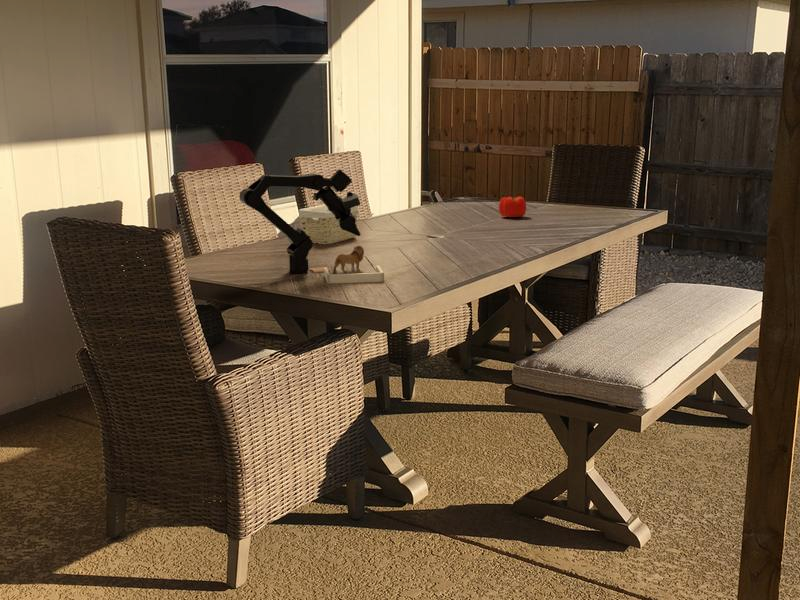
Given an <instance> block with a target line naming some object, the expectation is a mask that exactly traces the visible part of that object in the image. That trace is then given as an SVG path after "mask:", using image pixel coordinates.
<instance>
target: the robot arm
mask: <svg viewBox="0 0 800 600" xmlns="http://www.w3.org/2000/svg"><path fill="white" fill-rule="evenodd" d="M352 183H353V181H352V179H351V177H350V176H349V175H347V174H346V173H345V172H344V171H343V170H342V169H339V168H338V169H337V170H336V171H335V172H334V174H333V175H331V176H330V178H327V177H324V176H323V175H322V174H318V173H314V172H311V173H305V174H302V175H275V174H273V175H271V174H269V175H268V174H262V175H261V176H260V177H259V178H258V179H257V180H255V181H254V182H253V183H251V184H250V185H249V186H248V187H247V188H243V189H242V190H241V191H240V193H239V196H238V197H239V200H240V202H241V203H242V204H244V205H246V206H247V207H249V208H250V209H253V210H255V211H256V212H258V213H259V214H260V215H261V216H262V217H263V218H264V219H266V220H267V221H268V222H269V223H271V224H272V225H273V226H274V227H275V229H277V230H278V231H279V232H281V233H282V234H283V235H285V237H286V238H287V240H288V241H289V243H290V244H289V246H288V247H287V248H286V252H287V255H288V263H289V264H288V265H289V266H288V267H289V269H288V272H289V274H290V275H292V274H307V273H308V271H309V258H308V255H309V253H310V251H311V249H312V248H313V243H312V240H311V239H310V236H308V235H307V234H306V233H305V232H304V231H303V230H302V228H299V227H297V228H296V229H295V228H294V227H292V225H290V224H289V223H288V222H287V221H286V220H284V219H283V218H282V217H281V216H280V215H279V214H277V213H276V212H275V211H274V210H273V209H271V208H270V206H268V205H267V203H266V202H265V200H264V199H263V196H264V195H265V193H266V192H267V191H268V189H269V188H270V187H289V188H290V187H291V188H292V187H297V188H298V187H300V188H305V189H309V190H312V191H317V192H313V196H312V200H313V201H316V202H317V201H318V200H320V201H321V202H322V203H323V205H324V204H325V205H326V206H327V208H328V210H329V211H330V212H332V213H333V215H334V216H335V218H336V219H337V220H338V219H340V220H339V223H338V224H339V226H340V228H341V229H342V230H345V231H348V232H350V233H352V234H355V235H357V236H356V237H360V236H361V232H360V231H359V228H358V226H357V225H358V224H357V225H356V223H355V222H356V219H355V217H354V216H353V214H352V213H351V208H352V207H355V206H357V207H359V206H360V205H361V201H360V199H359V196H358V194H357V193H353V192H352V191H348V192H346V196H344V197H343V198H342V197H341V196H339V195H338V194H337V193H342V192H344V190H345V189H347V188H348V187H349V186H350V185H351V184H352Z"/></svg>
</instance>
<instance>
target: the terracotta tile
mask: <svg viewBox="0 0 800 600" xmlns="http://www.w3.org/2000/svg"><path fill="white" fill-rule="evenodd" d="M324 267H325V266H320V267H308V271H310V270H311V271H310V272H312V271H313V272H312V273H314V274H317V272H318V274H319V272H321V273H324ZM327 269H328V272H329V273H330V272H331V270H330V268H327Z"/></svg>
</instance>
